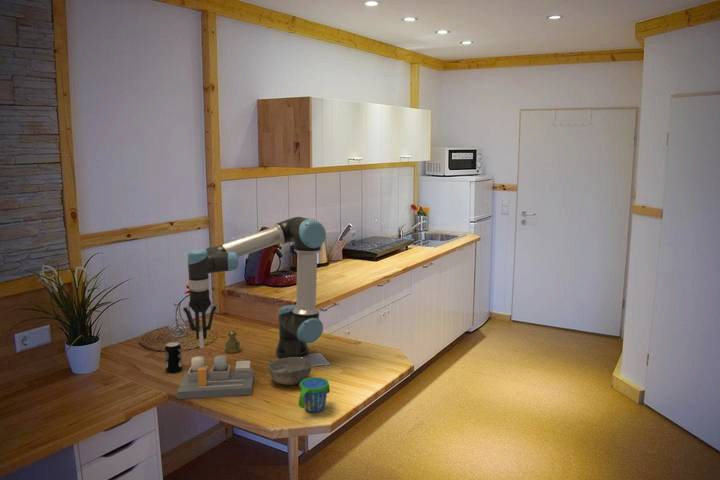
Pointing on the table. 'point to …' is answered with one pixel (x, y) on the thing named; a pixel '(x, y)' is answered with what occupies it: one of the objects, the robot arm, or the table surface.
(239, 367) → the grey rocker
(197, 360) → the white rounded cube
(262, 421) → the table surface
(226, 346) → the green figurine
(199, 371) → the orange slider
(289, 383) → the bowl
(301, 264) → the robot arm
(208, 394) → the console
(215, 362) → the pale blue rounded cube
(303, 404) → the snack cup
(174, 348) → the beverage can
